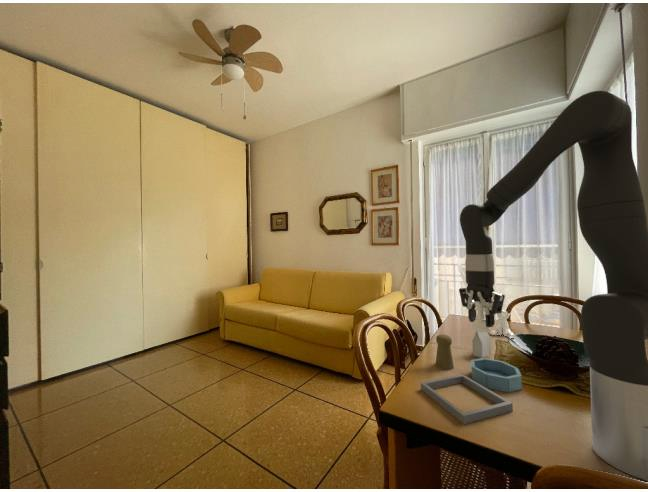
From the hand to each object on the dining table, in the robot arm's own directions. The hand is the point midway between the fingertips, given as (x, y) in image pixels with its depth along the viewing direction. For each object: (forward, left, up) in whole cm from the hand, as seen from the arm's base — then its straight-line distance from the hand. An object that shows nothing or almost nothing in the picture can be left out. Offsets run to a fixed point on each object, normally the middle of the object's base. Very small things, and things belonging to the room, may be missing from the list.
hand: (480, 323), depth 77 cm
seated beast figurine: (+32, -49, -20) cm, 62 cm away
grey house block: (+18, -20, -20) cm, 33 cm away
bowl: (+2, -7, -19) cm, 21 cm away
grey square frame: (-3, +11, -19) cm, 22 cm away
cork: (+15, +1, -20) cm, 25 cm away
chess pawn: (0, 0, -2) cm, 2 cm away
